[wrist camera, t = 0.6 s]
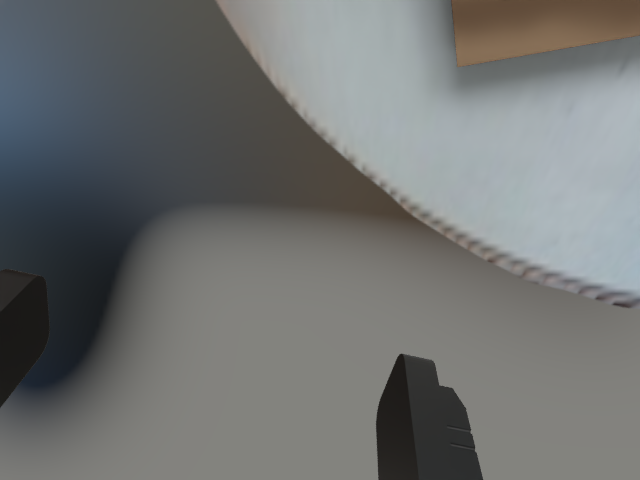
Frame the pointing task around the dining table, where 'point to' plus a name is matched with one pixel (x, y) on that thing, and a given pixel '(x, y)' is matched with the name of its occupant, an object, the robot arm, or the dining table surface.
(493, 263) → the dining table surface
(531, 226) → the dining table surface
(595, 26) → the wooden board
